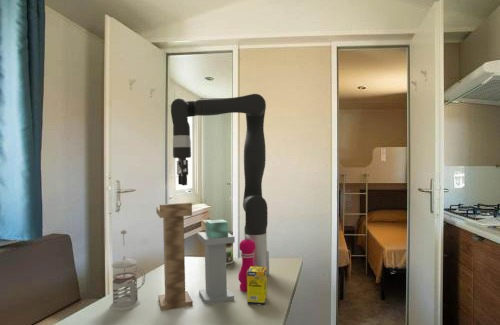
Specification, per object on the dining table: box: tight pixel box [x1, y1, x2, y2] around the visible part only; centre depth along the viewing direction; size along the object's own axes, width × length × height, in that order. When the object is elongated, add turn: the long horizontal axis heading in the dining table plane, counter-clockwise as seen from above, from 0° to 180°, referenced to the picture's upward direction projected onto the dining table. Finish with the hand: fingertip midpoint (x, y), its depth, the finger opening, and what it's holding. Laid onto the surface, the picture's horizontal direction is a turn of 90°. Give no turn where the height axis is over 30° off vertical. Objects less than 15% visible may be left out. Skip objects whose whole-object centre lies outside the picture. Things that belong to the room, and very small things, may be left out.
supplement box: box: [246, 266, 268, 306], centre depth 117 cm, size 6×6×11 cm
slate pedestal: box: [196, 231, 236, 306], centre depth 121 cm, size 10×13×22 cm
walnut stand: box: [155, 202, 194, 311], centre depth 117 cm, size 10×13×34 cm
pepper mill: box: [237, 235, 256, 293], centre depth 129 cm, size 7×7×20 cm
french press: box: [109, 229, 146, 311], centre depth 117 cm, size 10×12×25 cm
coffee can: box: [226, 230, 234, 266], centre depth 166 cm, size 10×10×14 cm
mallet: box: [200, 219, 229, 239], centre depth 125 cm, size 6×21×5 cm, turn 20°
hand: (182, 184), depth 148 cm, fingers open, 8 cm apart
